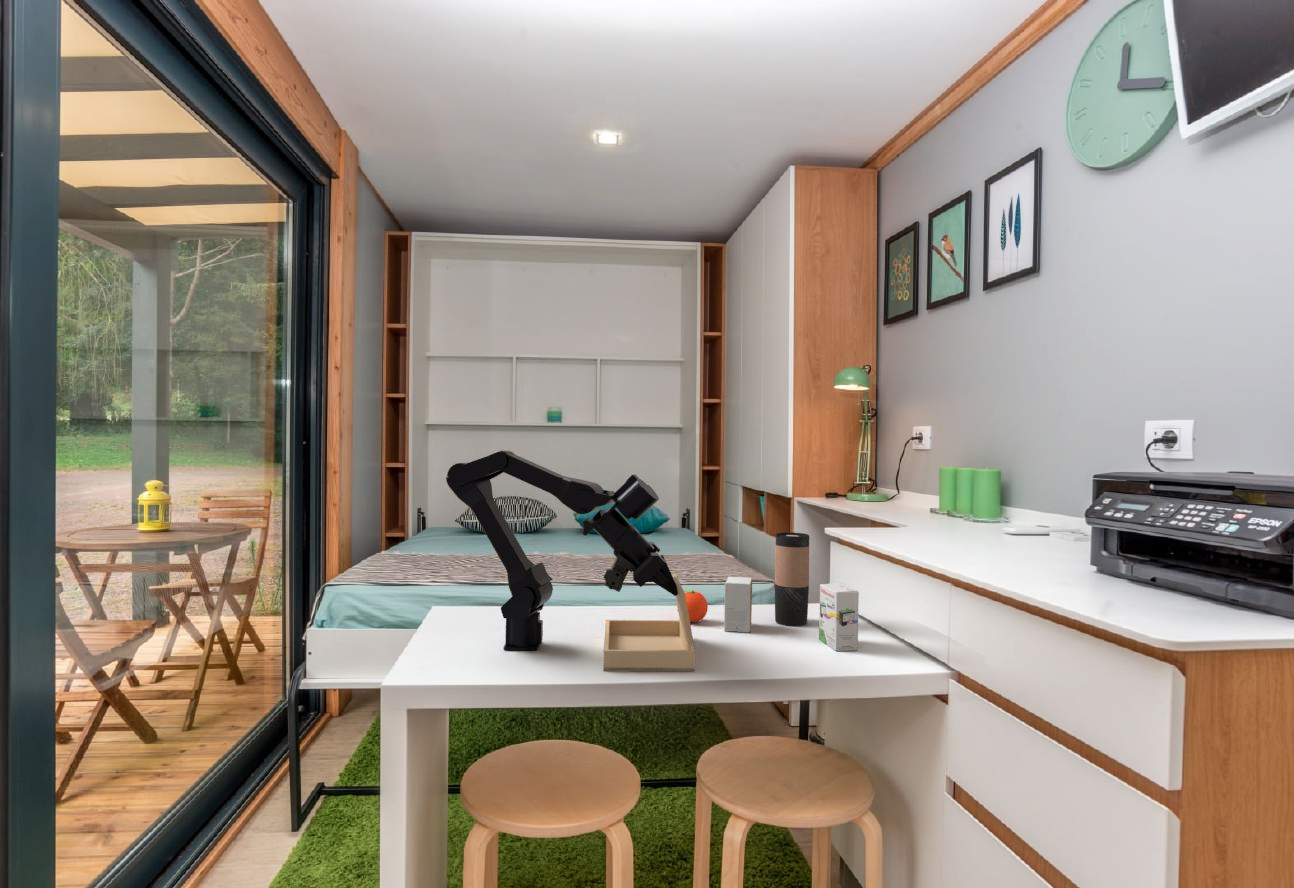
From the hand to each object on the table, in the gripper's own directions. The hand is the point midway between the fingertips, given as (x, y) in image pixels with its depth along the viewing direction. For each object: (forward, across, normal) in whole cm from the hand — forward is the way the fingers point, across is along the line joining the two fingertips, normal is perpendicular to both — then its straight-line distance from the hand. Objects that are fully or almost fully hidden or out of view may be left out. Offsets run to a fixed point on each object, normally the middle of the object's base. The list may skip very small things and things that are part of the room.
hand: (677, 594), depth 133 cm
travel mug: (+28, -25, +12) cm, 39 cm away
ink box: (+32, -7, +15) cm, 36 cm away
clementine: (+12, -25, -4) cm, 28 cm away
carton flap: (+6, -1, -4) cm, 8 cm away
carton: (+4, -1, -12) cm, 13 cm away
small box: (+19, -20, +3) cm, 27 cm away
